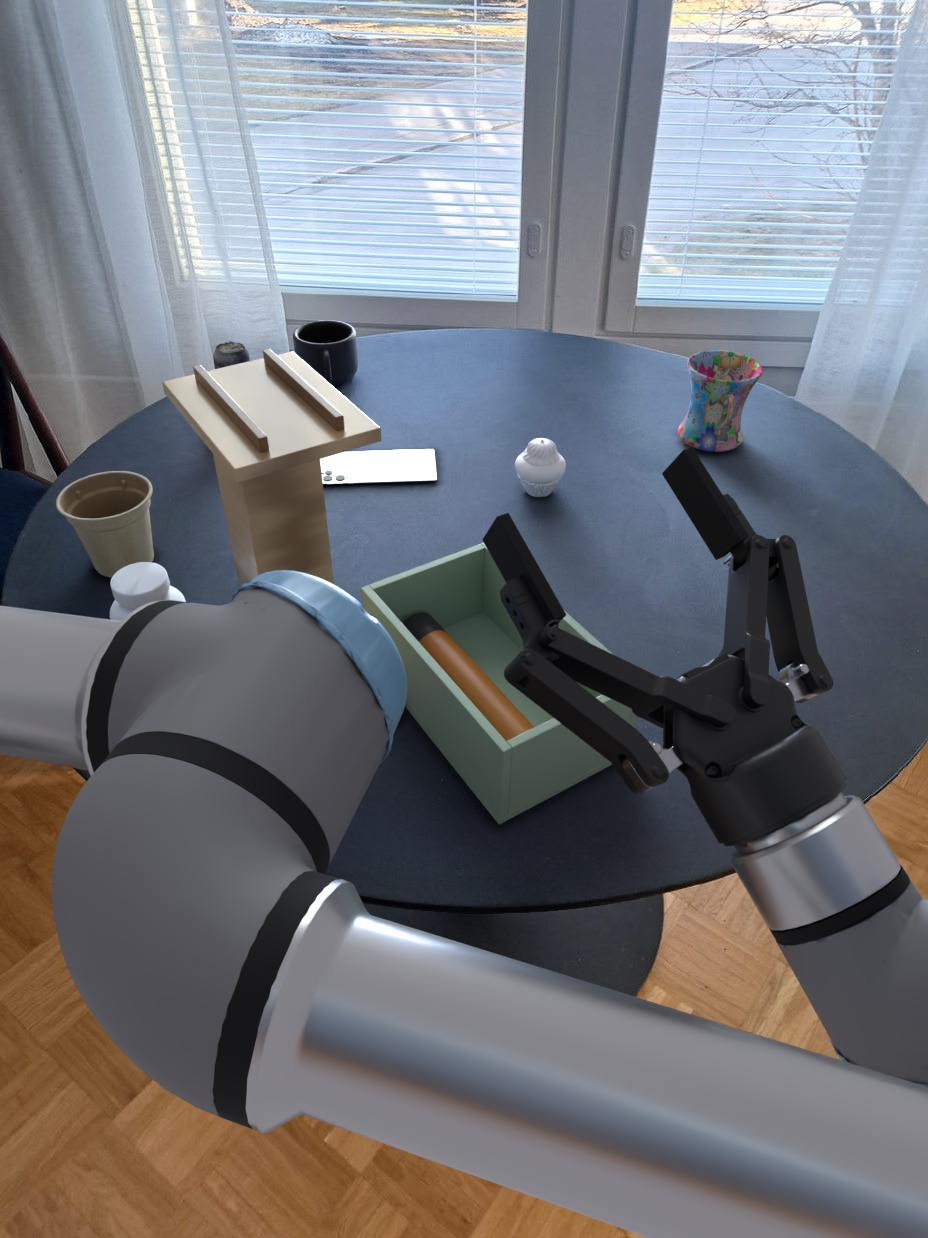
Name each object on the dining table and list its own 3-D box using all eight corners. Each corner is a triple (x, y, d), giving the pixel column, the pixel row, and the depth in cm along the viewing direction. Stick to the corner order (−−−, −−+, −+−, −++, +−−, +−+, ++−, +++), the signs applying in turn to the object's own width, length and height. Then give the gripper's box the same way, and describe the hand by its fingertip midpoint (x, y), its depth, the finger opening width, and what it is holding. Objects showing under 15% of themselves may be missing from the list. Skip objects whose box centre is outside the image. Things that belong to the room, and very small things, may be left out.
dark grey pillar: (260, 415, 121) (247, 330, 113) (282, 438, 116) (270, 351, 108) (197, 431, 117) (178, 345, 109) (217, 456, 112) (199, 368, 104)
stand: (282, 790, 72) (215, 459, 51) (221, 687, 80) (144, 370, 60) (409, 732, 76) (394, 409, 56) (338, 641, 85) (303, 334, 65)
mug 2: (669, 422, 120) (682, 348, 113) (737, 424, 120) (754, 350, 113) (681, 467, 111) (696, 390, 104) (754, 470, 111) (775, 392, 104)
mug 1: (297, 367, 132) (292, 321, 128) (357, 363, 133) (353, 317, 129) (298, 403, 123) (292, 355, 119) (362, 399, 124) (359, 351, 120)
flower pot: (81, 543, 97) (59, 476, 92) (168, 531, 99) (152, 465, 94) (76, 594, 90) (51, 525, 85) (170, 580, 92) (152, 512, 87)
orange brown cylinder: (512, 787, 71) (512, 757, 68) (399, 652, 83) (395, 622, 81) (551, 765, 73) (553, 734, 70) (435, 636, 85) (432, 605, 82)
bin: (499, 825, 69) (503, 752, 63) (366, 659, 84) (360, 587, 78) (630, 755, 75) (644, 682, 69) (485, 611, 89) (487, 540, 83)
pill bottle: (218, 667, 82) (194, 570, 75) (168, 710, 78) (137, 611, 71) (167, 643, 85) (140, 546, 77) (116, 683, 81) (82, 585, 73)
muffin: (545, 472, 110) (549, 422, 105) (573, 495, 106) (579, 444, 101) (503, 485, 107) (506, 434, 103) (530, 509, 103) (534, 457, 99)
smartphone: (437, 480, 107) (306, 482, 106) (437, 484, 108) (306, 486, 106) (434, 449, 113) (309, 450, 112) (434, 452, 113) (310, 454, 112)
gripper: (574, 940, 45) (391, 587, 49) (888, 743, 55) (711, 467, 60) (641, 930, 38) (422, 524, 43) (983, 709, 48) (776, 402, 53)
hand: (590, 490), depth 51 cm, fingers open, 13 cm apart
